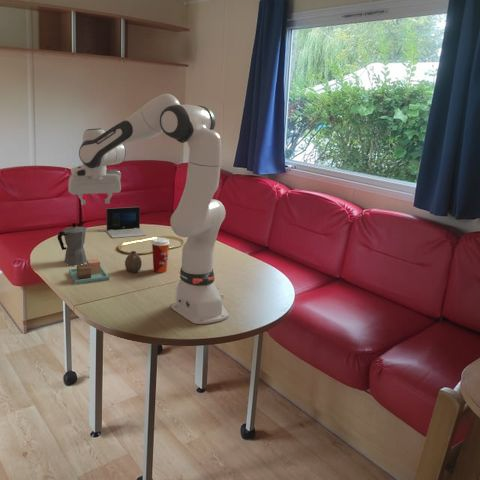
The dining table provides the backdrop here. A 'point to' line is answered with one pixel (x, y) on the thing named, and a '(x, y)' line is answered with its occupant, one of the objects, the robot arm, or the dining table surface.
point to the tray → (94, 278)
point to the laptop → (123, 222)
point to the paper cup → (160, 254)
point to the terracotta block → (94, 266)
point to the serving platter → (149, 240)
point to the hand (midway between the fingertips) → (95, 204)
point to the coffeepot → (73, 244)
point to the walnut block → (83, 271)
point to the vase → (133, 262)
